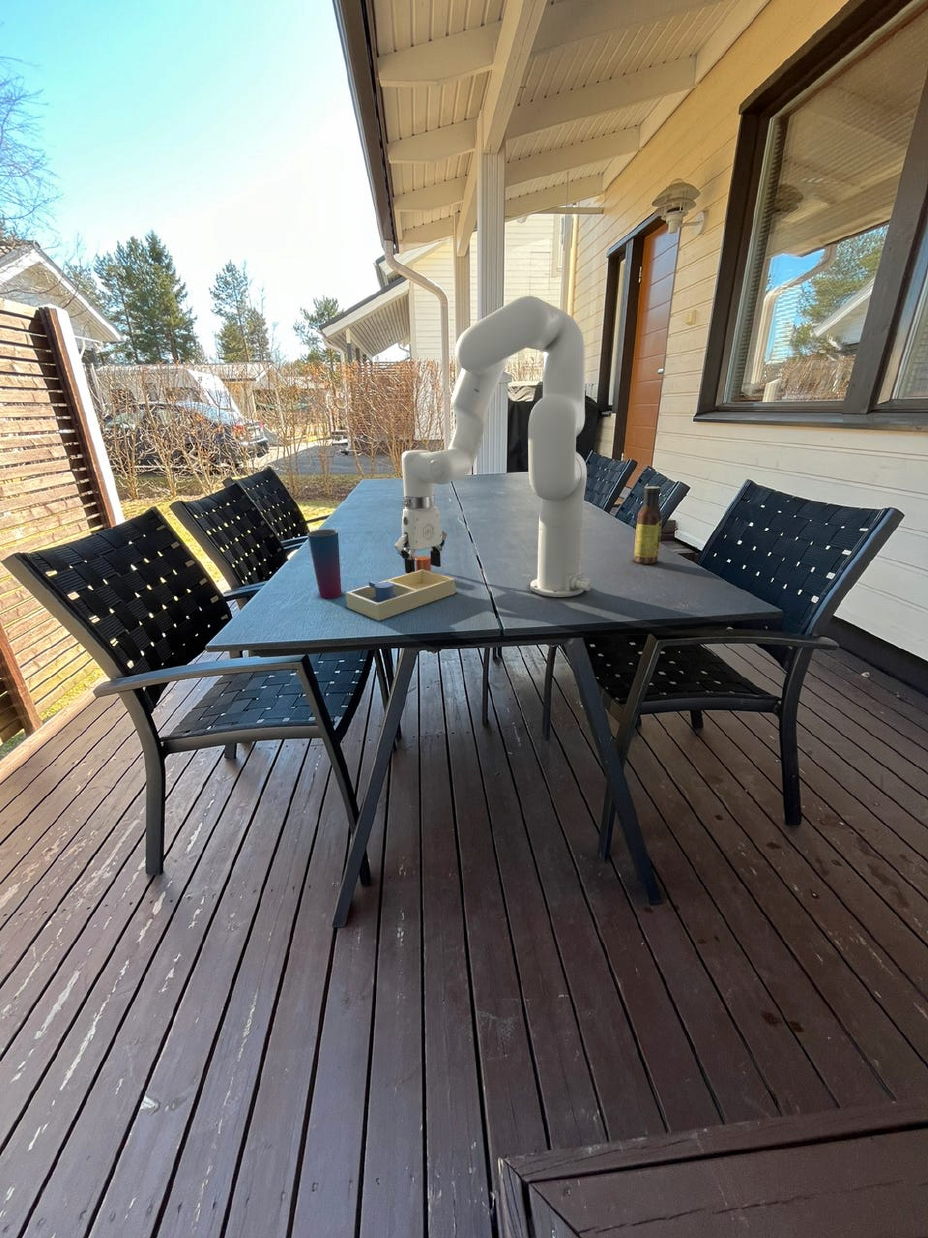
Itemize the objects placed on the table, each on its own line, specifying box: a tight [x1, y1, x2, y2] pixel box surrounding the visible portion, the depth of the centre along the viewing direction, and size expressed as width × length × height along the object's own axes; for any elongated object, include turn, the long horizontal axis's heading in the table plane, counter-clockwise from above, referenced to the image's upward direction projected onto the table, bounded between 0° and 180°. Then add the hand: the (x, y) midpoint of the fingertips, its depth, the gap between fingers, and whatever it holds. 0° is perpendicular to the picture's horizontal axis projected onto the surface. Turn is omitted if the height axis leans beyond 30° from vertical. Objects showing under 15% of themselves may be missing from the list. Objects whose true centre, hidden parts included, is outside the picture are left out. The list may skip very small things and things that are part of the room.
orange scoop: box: [412, 554, 432, 572], centre depth 137 cm, size 7×4×4 cm, turn 45°
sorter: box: [345, 569, 457, 622], centre depth 119 cm, size 12×22×4 cm, turn 135°
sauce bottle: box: [633, 485, 663, 565], centre depth 139 cm, size 7×6×20 cm
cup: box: [306, 528, 342, 599], centre depth 121 cm, size 7×7×15 cm
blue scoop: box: [368, 580, 394, 603], centre depth 115 cm, size 7×4×4 cm, turn 45°
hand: (423, 569), depth 137 cm, fingers open, 8 cm apart
